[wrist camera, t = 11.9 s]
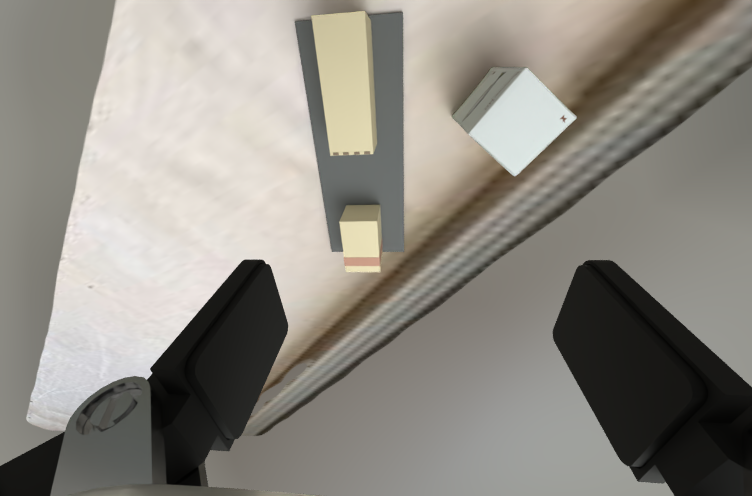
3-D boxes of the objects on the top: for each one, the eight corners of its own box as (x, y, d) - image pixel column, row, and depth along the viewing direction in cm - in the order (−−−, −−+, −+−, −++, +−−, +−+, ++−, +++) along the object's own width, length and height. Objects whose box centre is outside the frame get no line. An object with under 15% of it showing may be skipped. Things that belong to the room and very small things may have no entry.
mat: (296, 22, 35) (294, 21, 35) (402, 13, 34) (402, 12, 33) (332, 250, 52) (331, 251, 52) (403, 250, 51) (403, 251, 50)
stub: (346, 205, 46) (338, 221, 41) (380, 204, 46) (377, 221, 41) (351, 251, 51) (345, 272, 46) (382, 251, 51) (380, 272, 45)
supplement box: (491, 65, 36) (529, 62, 25) (530, 104, 38) (581, 118, 27) (449, 116, 39) (466, 133, 28) (487, 150, 41) (516, 178, 30)
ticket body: (324, 24, 34) (310, 15, 29) (371, 20, 34) (364, 10, 28) (339, 144, 42) (329, 155, 36) (377, 143, 41) (373, 154, 36)
